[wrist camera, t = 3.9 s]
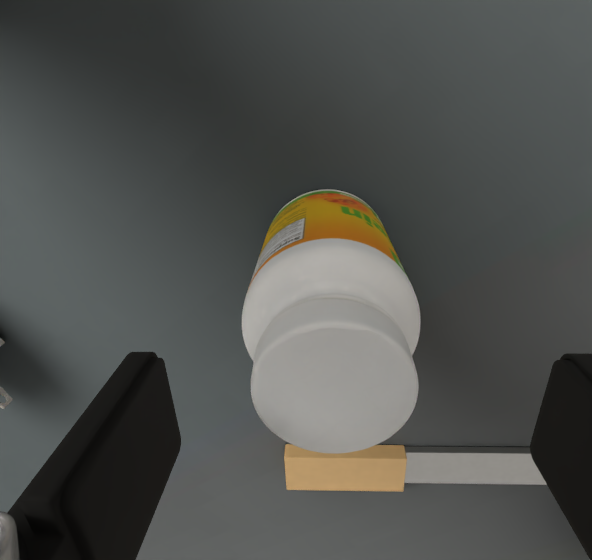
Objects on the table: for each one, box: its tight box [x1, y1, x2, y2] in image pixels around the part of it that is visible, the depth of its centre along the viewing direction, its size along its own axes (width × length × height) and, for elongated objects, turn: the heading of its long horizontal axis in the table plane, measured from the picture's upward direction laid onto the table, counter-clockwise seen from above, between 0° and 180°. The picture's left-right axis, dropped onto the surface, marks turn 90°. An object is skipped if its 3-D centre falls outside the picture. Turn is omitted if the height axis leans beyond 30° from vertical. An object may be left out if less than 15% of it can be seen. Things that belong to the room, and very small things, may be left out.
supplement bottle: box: [242, 189, 421, 454], centre depth 14 cm, size 5×5×10 cm
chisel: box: [284, 444, 547, 492], centre depth 23 cm, size 17×3×1 cm, turn 92°
